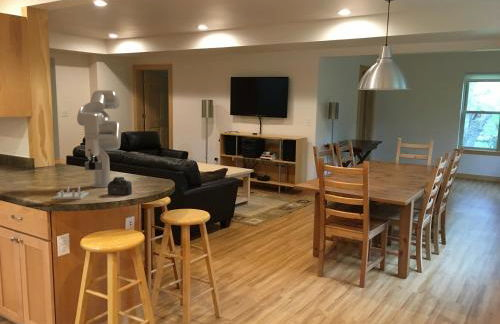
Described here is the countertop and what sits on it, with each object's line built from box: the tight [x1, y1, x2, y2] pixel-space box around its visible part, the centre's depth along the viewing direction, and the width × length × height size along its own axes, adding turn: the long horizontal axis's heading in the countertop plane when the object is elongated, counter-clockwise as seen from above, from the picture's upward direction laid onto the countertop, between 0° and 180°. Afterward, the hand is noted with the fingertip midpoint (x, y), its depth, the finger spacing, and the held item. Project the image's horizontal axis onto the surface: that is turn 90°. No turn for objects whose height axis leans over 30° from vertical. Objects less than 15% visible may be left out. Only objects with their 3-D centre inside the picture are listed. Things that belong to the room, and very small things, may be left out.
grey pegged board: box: [52, 186, 89, 200], centre depth 228 cm, size 12×15×4 cm
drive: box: [84, 161, 103, 171], centre depth 229 cm, size 5×9×4 cm, turn 105°
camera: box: [107, 176, 133, 196], centre depth 234 cm, size 13×10×10 cm
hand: (93, 168), depth 230 cm, fingers closed on drive, 5 cm apart
